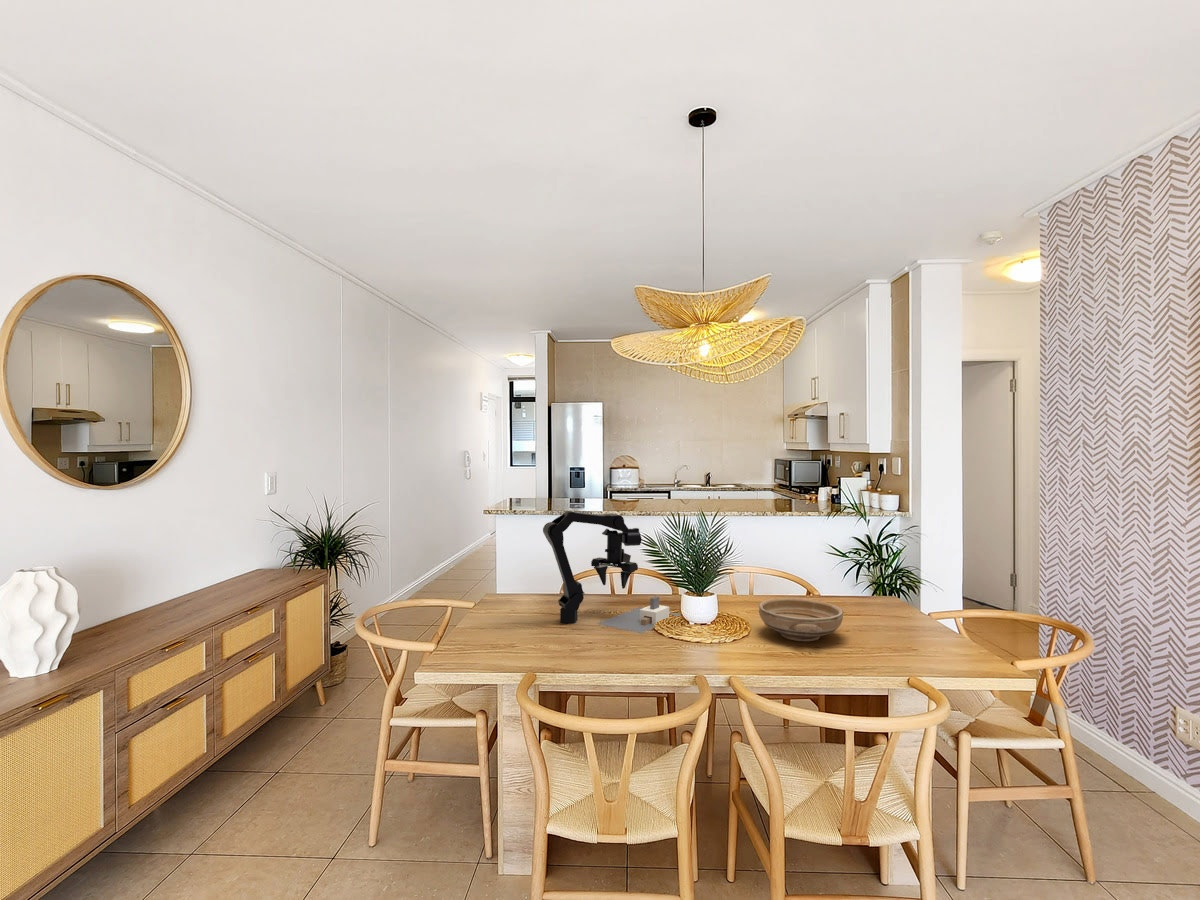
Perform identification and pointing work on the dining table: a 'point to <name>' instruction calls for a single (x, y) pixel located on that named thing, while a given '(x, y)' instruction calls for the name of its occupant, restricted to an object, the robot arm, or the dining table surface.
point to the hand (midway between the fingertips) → (613, 586)
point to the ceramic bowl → (800, 617)
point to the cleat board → (631, 621)
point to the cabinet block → (655, 611)
